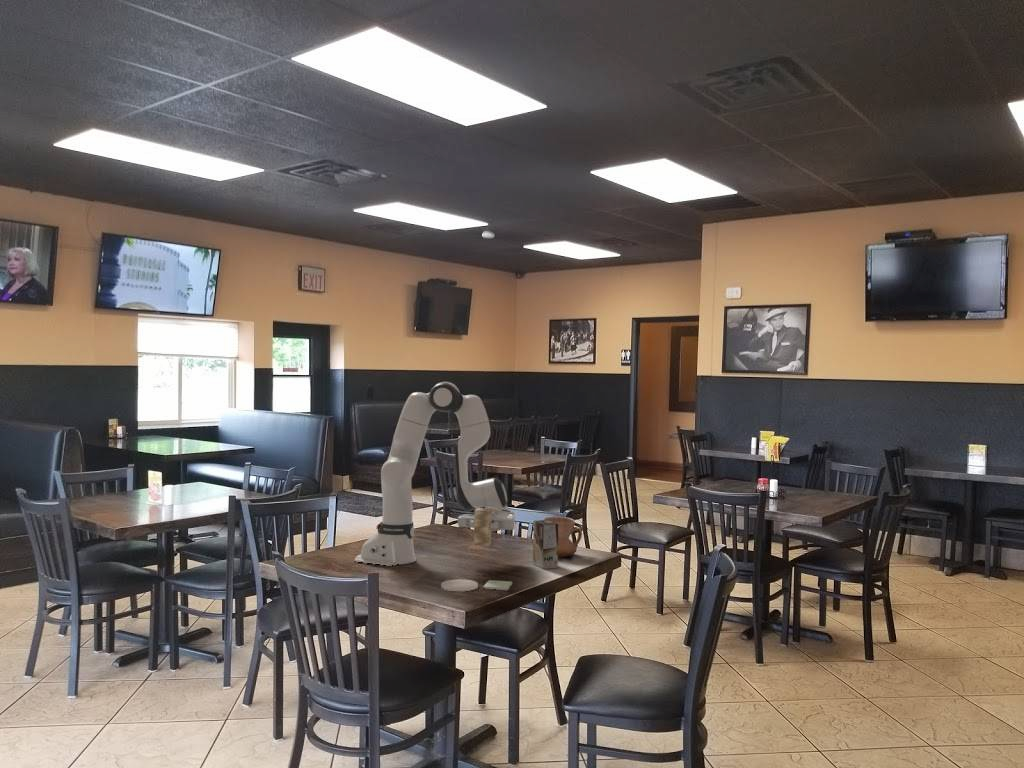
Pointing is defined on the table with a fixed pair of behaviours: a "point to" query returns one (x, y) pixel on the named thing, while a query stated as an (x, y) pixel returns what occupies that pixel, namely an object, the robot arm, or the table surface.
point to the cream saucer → (459, 585)
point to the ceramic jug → (566, 535)
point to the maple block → (482, 526)
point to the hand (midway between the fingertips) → (482, 525)
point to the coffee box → (545, 544)
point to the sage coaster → (497, 585)
